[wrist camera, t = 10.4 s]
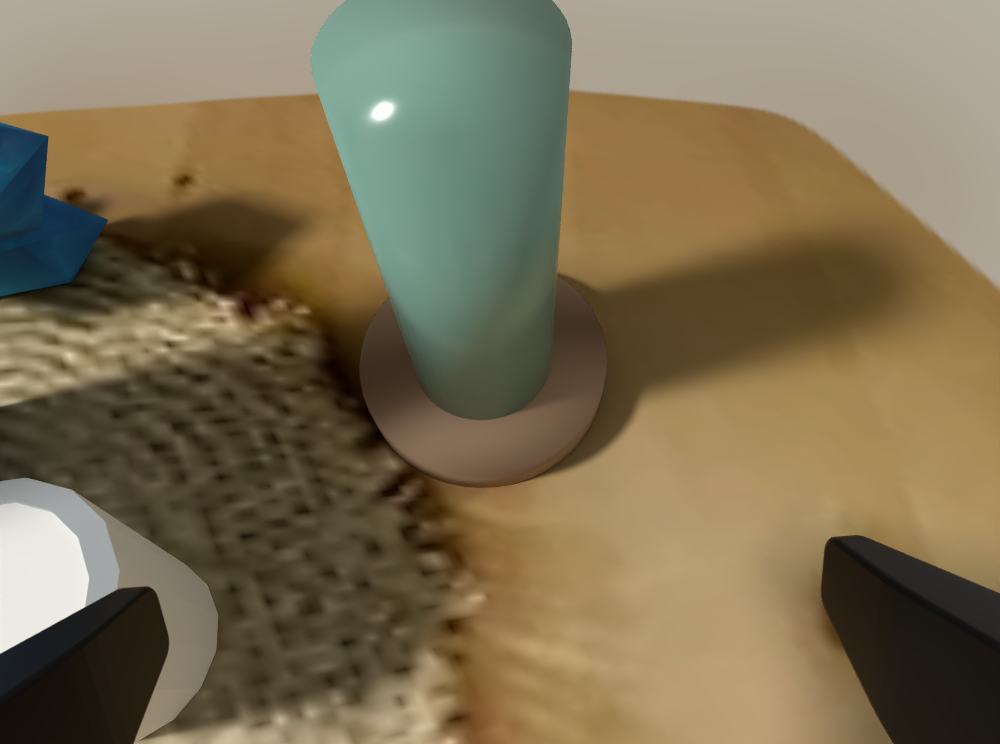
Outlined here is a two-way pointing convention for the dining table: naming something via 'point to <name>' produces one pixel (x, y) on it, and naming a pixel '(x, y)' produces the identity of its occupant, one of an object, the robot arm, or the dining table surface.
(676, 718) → the dining table surface
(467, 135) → the teal rounded cylinder
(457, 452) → the walnut base
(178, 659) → the white cup
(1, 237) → the crystal
